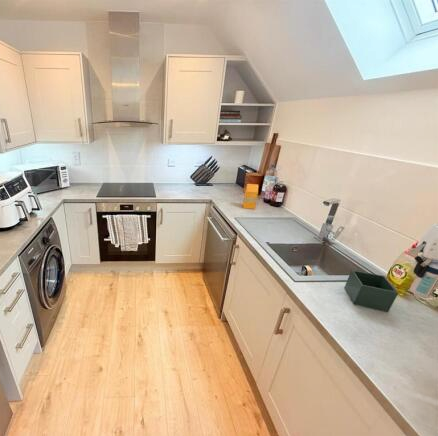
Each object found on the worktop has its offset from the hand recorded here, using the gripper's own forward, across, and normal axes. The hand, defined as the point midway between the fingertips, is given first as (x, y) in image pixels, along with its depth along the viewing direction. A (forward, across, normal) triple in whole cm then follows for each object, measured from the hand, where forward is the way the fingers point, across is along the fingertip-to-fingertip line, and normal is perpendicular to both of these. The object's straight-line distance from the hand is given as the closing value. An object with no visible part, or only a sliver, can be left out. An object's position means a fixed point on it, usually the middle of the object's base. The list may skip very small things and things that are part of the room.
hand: (429, 276), depth 73 cm
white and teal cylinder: (+7, 0, 0) cm, 7 cm away
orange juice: (+17, +48, -117) cm, 128 cm away
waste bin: (+25, +3, -18) cm, 31 cm away
